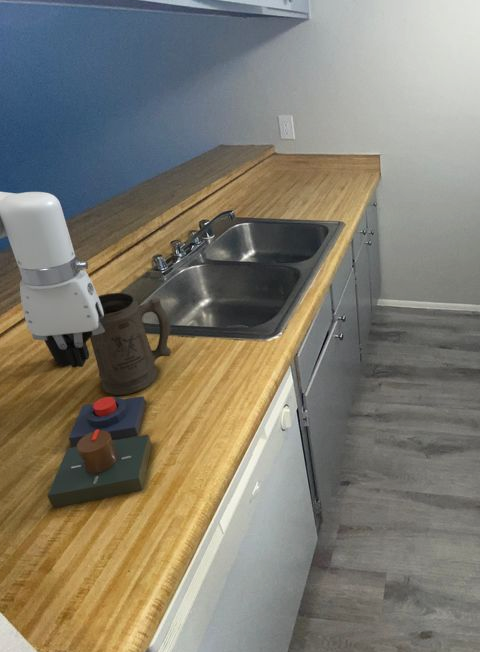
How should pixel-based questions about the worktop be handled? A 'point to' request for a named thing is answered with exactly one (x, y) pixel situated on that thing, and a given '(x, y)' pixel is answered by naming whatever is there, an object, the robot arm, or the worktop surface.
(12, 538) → the worktop surface
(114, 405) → the button
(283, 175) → the worktop surface
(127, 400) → the button box
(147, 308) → the beer stein
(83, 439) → the knob
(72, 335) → the drinking cup
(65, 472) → the panel
